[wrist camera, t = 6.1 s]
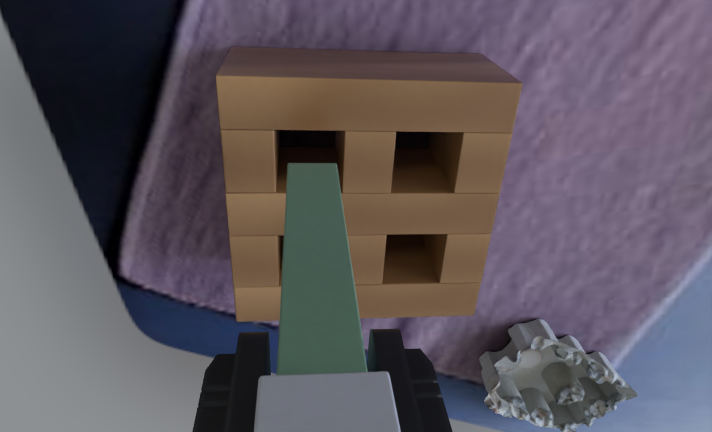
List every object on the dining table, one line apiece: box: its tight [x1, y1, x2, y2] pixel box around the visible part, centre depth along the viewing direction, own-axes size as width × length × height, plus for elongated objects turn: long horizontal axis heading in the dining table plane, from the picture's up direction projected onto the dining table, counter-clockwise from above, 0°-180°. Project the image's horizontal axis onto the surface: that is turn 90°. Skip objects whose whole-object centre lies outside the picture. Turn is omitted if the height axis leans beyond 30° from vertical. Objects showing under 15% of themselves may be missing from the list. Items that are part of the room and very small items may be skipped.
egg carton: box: [479, 319, 637, 432], centre depth 39 cm, size 11×8×4 cm
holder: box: [216, 47, 522, 322], centre depth 28 cm, size 14×14×6 cm
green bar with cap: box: [254, 163, 401, 432], centre depth 15 cm, size 4×3×14 cm, turn 177°
